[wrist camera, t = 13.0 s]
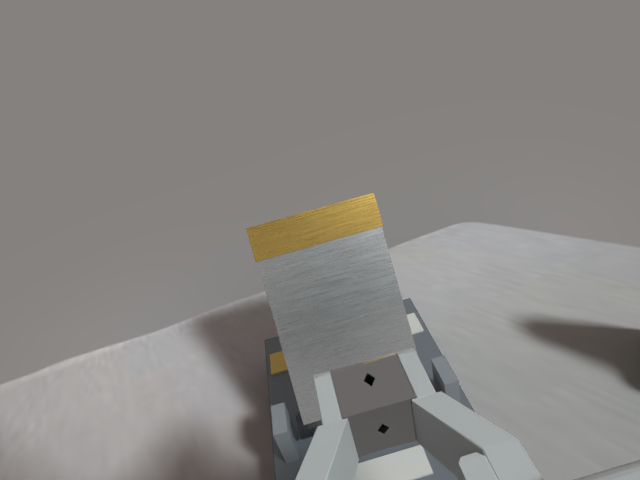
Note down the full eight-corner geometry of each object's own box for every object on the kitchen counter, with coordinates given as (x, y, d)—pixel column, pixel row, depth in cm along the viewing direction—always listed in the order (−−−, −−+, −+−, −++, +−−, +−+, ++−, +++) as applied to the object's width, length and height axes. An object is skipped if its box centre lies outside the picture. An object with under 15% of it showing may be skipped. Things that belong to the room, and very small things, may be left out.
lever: (440, 406, 30) (379, 191, 29) (302, 447, 29) (240, 230, 29) (429, 393, 32) (373, 195, 32) (302, 430, 32) (246, 231, 32)
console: (507, 495, 28) (509, 439, 25) (292, 561, 28) (264, 513, 25) (413, 320, 44) (406, 270, 40) (273, 360, 43) (254, 314, 40)
